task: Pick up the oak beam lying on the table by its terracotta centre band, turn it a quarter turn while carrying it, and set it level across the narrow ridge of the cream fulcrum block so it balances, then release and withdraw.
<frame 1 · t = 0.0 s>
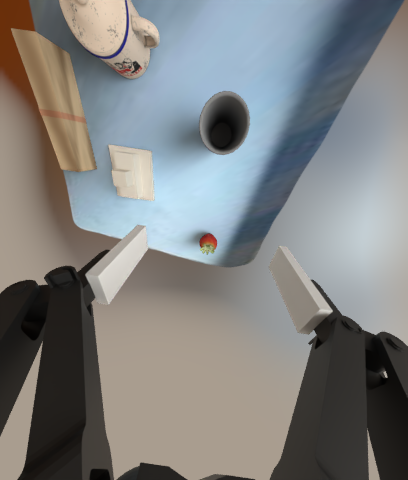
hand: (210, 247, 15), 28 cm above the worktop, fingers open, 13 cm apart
fulcrum: (134, 174, 38), on the worktop
cup: (221, 135, 33), on the worktop
teacup with lid: (136, 48, 27), on the worktop
fruit: (209, 235, 46), on the worktop
beam: (76, 119, 33), on the worktop
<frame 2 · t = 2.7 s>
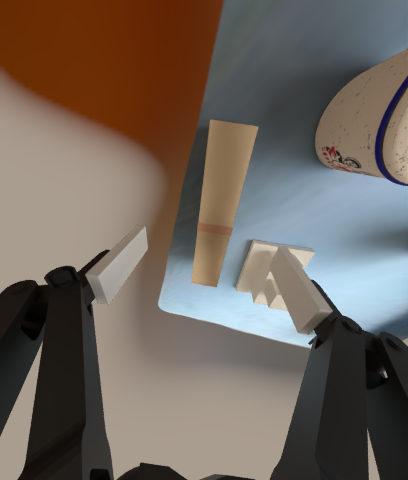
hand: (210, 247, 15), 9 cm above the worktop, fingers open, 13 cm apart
fulcrum: (269, 270, 28), on the worktop
teacup with lid: (369, 128, 16), on the worktop
beam: (215, 211, 22), on the worktop
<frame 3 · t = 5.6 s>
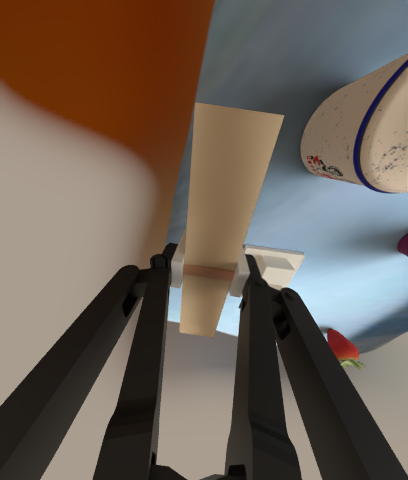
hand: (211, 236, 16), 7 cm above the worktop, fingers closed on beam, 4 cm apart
fulcrum: (262, 274, 28), on the worktop
teacup with lid: (349, 138, 17), on the worktop
fruit: (328, 328, 36), on the worktop
beam: (211, 235, 17), point 7 cm above the worktop, touching gripper
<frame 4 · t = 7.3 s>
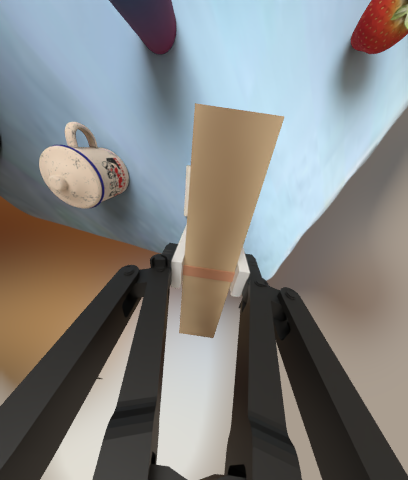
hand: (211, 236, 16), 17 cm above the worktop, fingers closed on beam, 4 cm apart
cup: (158, 27, 19), on the worktop
teacup with lid: (107, 164, 29), on the worktop
fruit: (355, 42, 19), on the worktop
beam: (210, 236, 17), point 16 cm above the worktop, touching gripper
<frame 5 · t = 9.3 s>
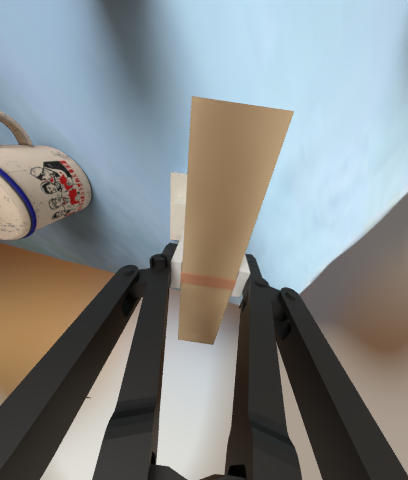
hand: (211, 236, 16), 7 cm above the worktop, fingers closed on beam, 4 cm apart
fulcrum: (211, 213, 22), on the worktop
teacup with lid: (59, 170, 20), on the worktop
beam: (210, 239, 16), point 7 cm above the worktop, touching fulcrum, gripper
when the fingers open (6 cm above the worktop, at t = 10.1 s): beam stays where it is, resting on fulcrum.
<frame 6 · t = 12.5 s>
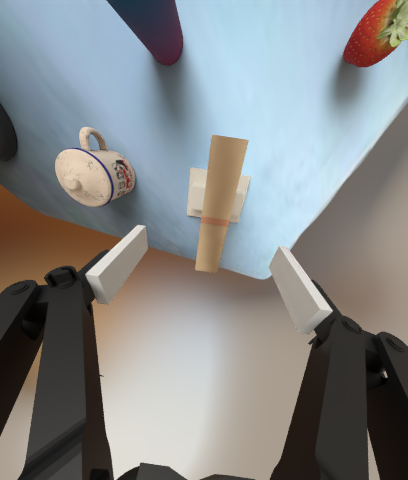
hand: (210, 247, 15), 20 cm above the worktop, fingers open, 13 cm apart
fulcrum: (216, 196, 32), on the worktop
cup: (166, 41, 21), on the worktop
teacup with lid: (116, 166, 31), on the worktop
fruit: (347, 56, 20), on the worktop
beam: (215, 207, 26), point 7 cm above the worktop, touching fulcrum
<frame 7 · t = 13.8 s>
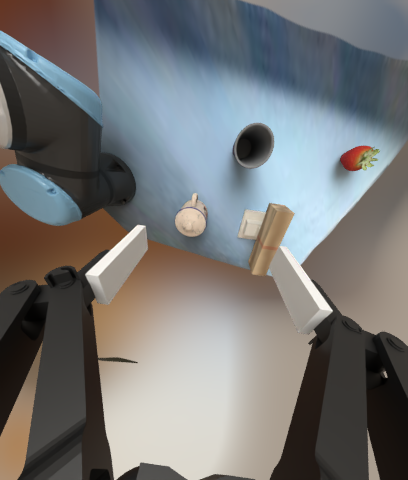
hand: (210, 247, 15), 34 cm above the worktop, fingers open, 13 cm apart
fulcrum: (258, 225, 49), on the worktop
cup: (242, 148, 39), on the worktop
teacup with lid: (195, 207, 48), on the worktop
fruit: (342, 158, 38), on the worktop
beam: (264, 236, 43), point 7 cm above the worktop, touching fulcrum
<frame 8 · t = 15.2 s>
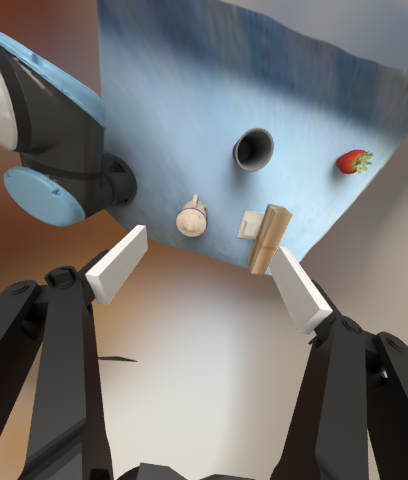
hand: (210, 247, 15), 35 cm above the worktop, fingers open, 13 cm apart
fulcrum: (257, 226, 50), on the worktop
cup: (242, 151, 39), on the worktop
teacup with lid: (195, 208, 49), on the worktop
fruit: (338, 161, 39), on the worktop
beam: (263, 236, 45), point 7 cm above the worktop, touching fulcrum
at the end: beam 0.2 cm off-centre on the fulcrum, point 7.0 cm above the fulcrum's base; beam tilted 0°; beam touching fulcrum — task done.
